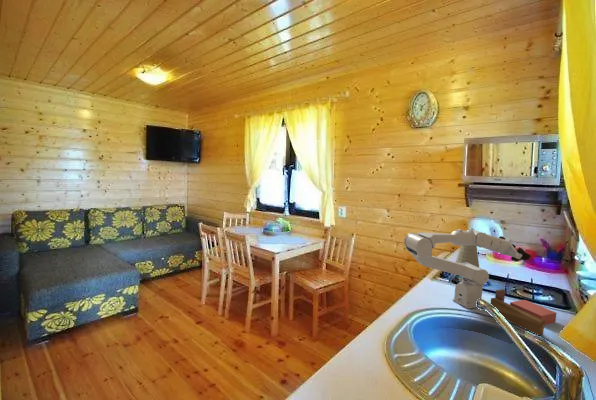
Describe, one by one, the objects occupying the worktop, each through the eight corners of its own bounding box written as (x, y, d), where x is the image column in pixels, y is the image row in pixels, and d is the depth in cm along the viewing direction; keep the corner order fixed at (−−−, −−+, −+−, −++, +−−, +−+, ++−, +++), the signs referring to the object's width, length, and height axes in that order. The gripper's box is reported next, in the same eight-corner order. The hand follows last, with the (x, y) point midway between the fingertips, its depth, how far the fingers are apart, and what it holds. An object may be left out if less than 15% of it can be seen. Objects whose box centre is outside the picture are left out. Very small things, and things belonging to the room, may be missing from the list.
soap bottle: (456, 272, 158) (459, 234, 156) (451, 265, 170) (454, 229, 168) (482, 275, 155) (486, 236, 153) (476, 267, 167) (480, 231, 164)
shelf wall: (538, 336, 99) (540, 321, 98) (489, 310, 116) (491, 298, 115) (543, 335, 99) (544, 321, 99) (493, 310, 116) (495, 297, 116)
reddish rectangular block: (540, 326, 106) (541, 315, 105) (509, 312, 116) (510, 302, 115) (555, 323, 108) (556, 312, 108) (523, 309, 119) (524, 299, 118)
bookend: (495, 310, 116) (497, 290, 115) (493, 309, 117) (496, 290, 116) (503, 309, 117) (505, 289, 116) (501, 308, 118) (503, 289, 117)
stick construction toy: (463, 283, 137) (458, 267, 141) (450, 287, 142) (446, 271, 146) (480, 287, 142) (475, 271, 146) (466, 291, 147) (462, 275, 151)
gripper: (513, 244, 113) (542, 253, 115) (487, 227, 126) (513, 236, 129) (503, 259, 115) (531, 268, 117) (478, 242, 128) (504, 250, 131)
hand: (521, 252), depth 123 cm, fingers open, 7 cm apart
